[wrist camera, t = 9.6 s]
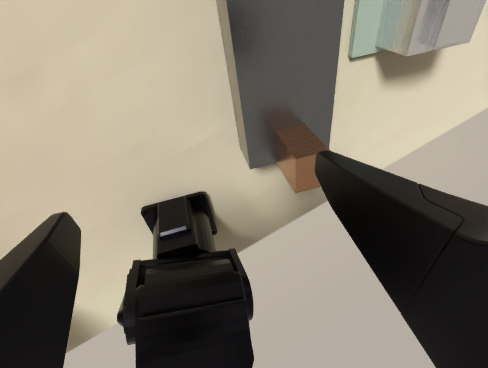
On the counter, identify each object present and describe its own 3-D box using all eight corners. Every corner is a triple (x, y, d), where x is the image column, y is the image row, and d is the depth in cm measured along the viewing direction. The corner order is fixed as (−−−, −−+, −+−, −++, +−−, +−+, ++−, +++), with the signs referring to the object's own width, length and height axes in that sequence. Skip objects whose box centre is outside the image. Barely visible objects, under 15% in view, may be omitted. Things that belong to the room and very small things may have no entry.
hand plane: (310, 129, 25) (355, 176, 19) (240, 147, 24) (265, 201, 18) (333, -356, 10) (539, -740, 5) (159, -349, 10) (160, -794, 4)
